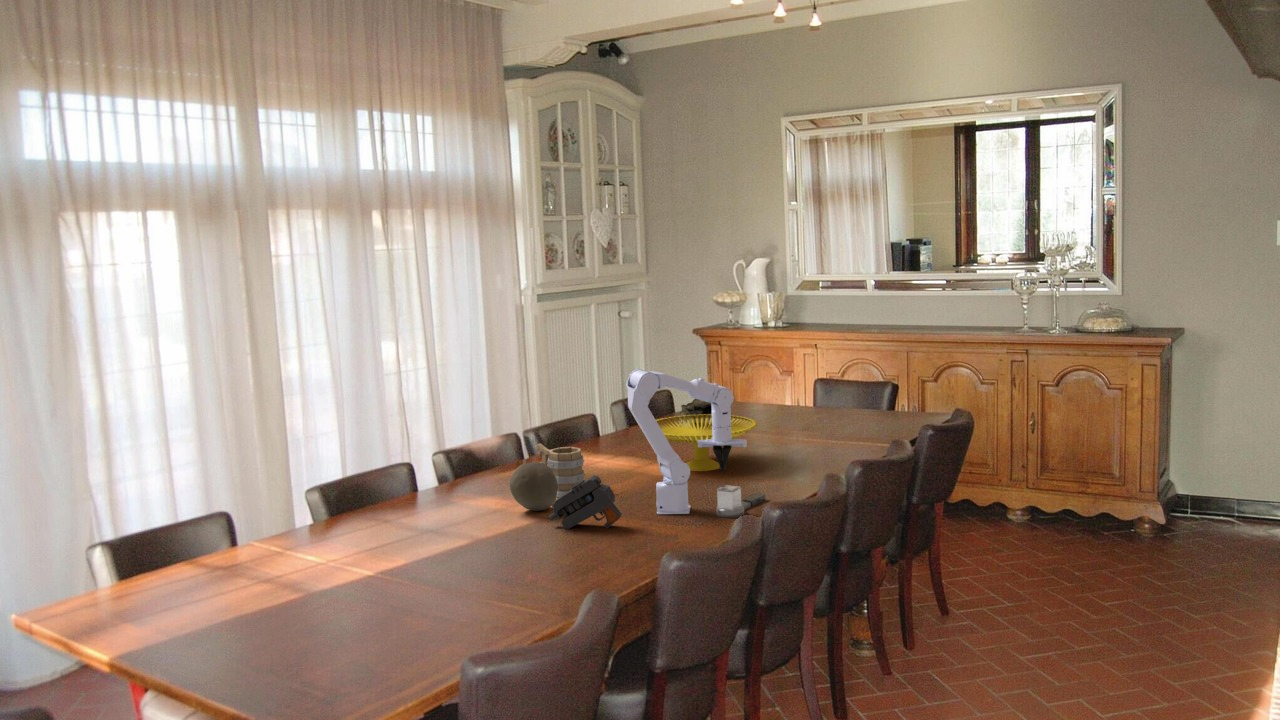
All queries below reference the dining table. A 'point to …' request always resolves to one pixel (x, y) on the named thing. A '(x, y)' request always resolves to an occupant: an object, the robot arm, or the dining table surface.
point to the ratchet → (742, 506)
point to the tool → (586, 504)
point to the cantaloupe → (534, 486)
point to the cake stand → (700, 437)
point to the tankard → (564, 466)
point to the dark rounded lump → (696, 412)
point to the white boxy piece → (729, 497)
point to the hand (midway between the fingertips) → (723, 470)
